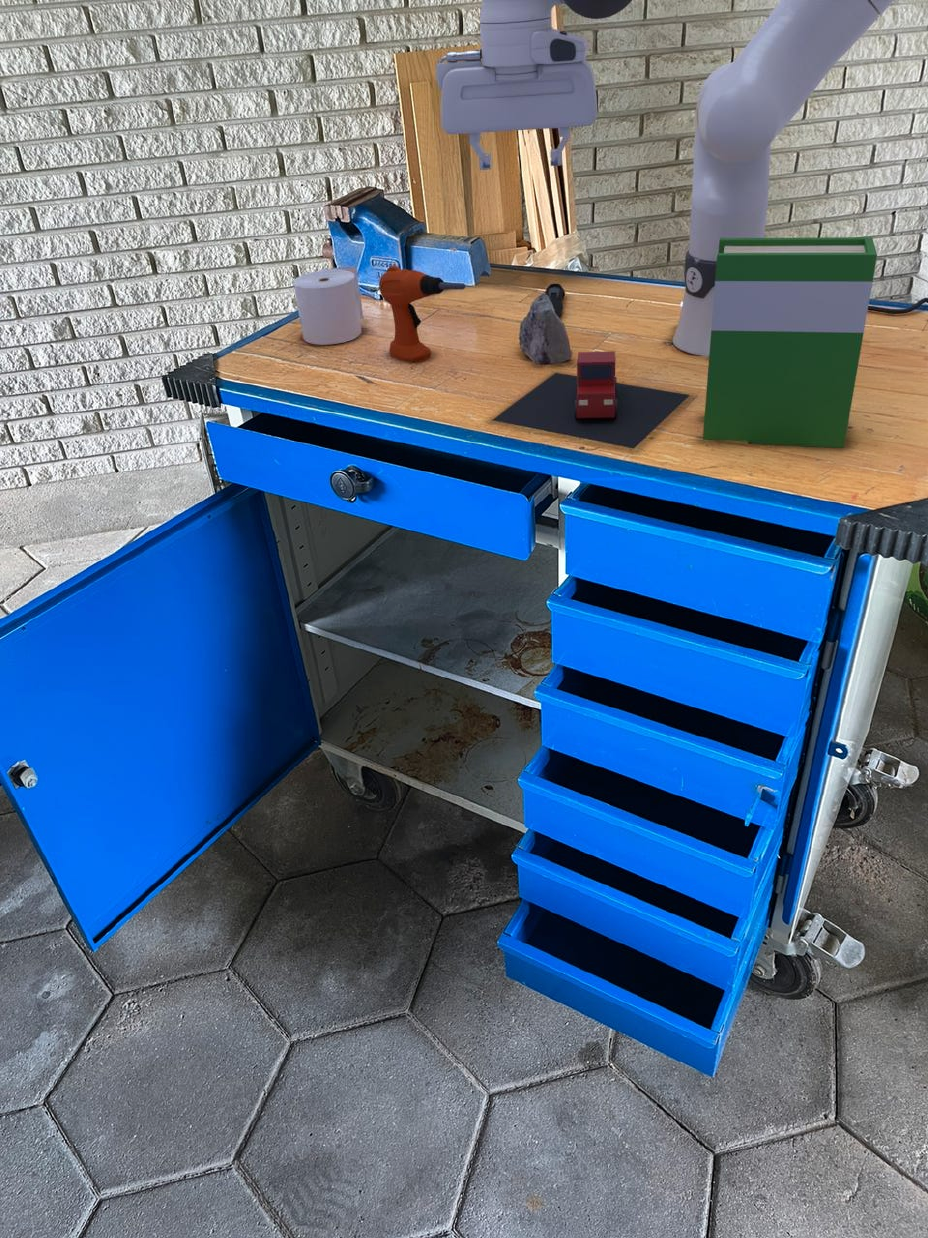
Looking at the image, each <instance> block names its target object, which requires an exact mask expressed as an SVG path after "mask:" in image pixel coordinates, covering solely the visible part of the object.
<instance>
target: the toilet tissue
mask: <svg viewBox="0 0 928 1238" xmlns="http://www.w3.org/2000/svg"><path fill="white" fill-rule="evenodd" d="M292 283H293V289H294V294H295V301H296V306H297V312H298V318H299V321H300V322H299V323H300V328H301V334H302V339H303V341H304V342H306V343H308V344H311V345H318V346H319V345H321V346H323V345H324V346H327V345H328V346H329V345H335V344H341V343H347V342H350V341H352V340H355V339H356V338H358V337H359V336H360V335H361V334H362V333H363V329H362V324H361V323H362V322H361V319H362V320H363V319H364V314H363V312H364V311H363V306H362V305H363V304H362V298H361V290H360V285H359V277H358V268H357V265H351V266H350V265H349V266H339V267H330V268H326V269H321V270H315V271H311V272H307V273H304V274H301V275H299V276H297V277H296V278H294V280H293V282H292Z"/></svg>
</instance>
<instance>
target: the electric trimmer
mask: <svg viewBox="0 0 928 1238" xmlns="http://www.w3.org/2000/svg"><path fill="white" fill-rule="evenodd" d="M544 293H545V294H546V295H547V296H548V297H549V299H550V301H551V303H552V305H553V308H554V311H555V313H556V315H557V316H558V317H559V318H560V316H561V314H562V313H563V310H564V305H563V299H564V298H565V296H566V291H565V289H564V288H563V286H562V285H561V284H560V283H549V285H548V286H547V288H546V289H545V291H544Z"/></svg>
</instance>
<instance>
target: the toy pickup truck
mask: <svg viewBox="0 0 928 1238" xmlns="http://www.w3.org/2000/svg"><path fill="white" fill-rule="evenodd" d="M615 352H616V351H614V350H613V351H612V350H611V351H580V352H578V353H577V359H576V360H577V363H576V376H578V378H576V396H577V400H575V419H583V418H617V399H615V395H616V387H617V383H618V381H617V376H616V353H615Z"/></svg>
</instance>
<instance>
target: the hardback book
mask: <svg viewBox="0 0 928 1238" xmlns="http://www.w3.org/2000/svg"><path fill="white" fill-rule="evenodd" d="M877 259H878V252H877V250H876V246H875V242H874V239H873V236H841V237H840V236H837V237H834V236H830V237H829V236H825V237H824V236H822V237H817V236H816V237H764V238H720V241H719V253H717V264H716V277H715V290H714V302H713V315H712V328H711V340H710V353H709V356H708V366H707V367H708V369H707V379H706V380H707V381H706V391H705V392H706V393H705V394H706V395H705V405H704V406H705V407H704V418H703V429H702V440H707V441H727V442H728V441H730V442H733V441H734V442H747V444H748V445H769V446H770V445H771V446H792V447H794V446H795V447H816V448H817V447H818V448H836V449H837V448H838V449H844V448H845V442H846V438H847V432H848V426H849V420H850V414H851V410H852V402H853V397H854V391H855V386H856V380H857V374H858V369H859V363H860V356H861V350H862V345H863V338H864V334H865V329H866V323H867V316H868V311H869V310H868V306H870V298H871V293H872V287H873V281H874V276H875V270H876V265H877Z"/></svg>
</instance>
